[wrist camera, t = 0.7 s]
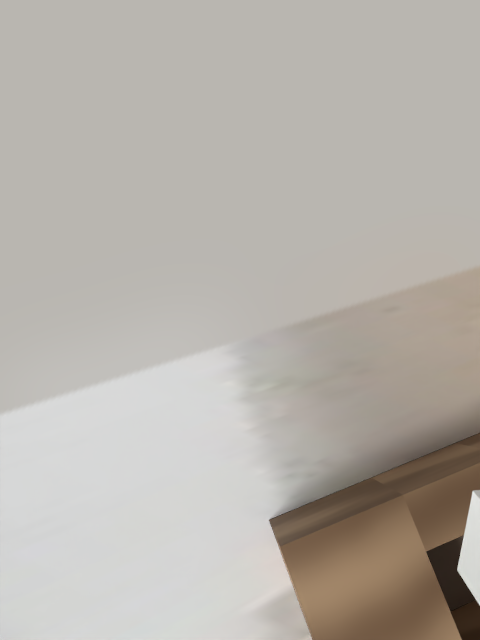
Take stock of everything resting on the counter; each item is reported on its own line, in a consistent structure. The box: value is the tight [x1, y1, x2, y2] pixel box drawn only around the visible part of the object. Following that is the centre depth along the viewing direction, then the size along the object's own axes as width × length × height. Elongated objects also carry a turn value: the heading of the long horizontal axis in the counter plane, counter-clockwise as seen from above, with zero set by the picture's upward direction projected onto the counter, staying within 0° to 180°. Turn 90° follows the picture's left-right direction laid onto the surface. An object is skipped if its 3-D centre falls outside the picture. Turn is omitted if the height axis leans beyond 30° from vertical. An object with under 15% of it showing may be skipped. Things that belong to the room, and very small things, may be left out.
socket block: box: [269, 433, 480, 640], centre depth 26 cm, size 12×20×5 cm, turn 111°
